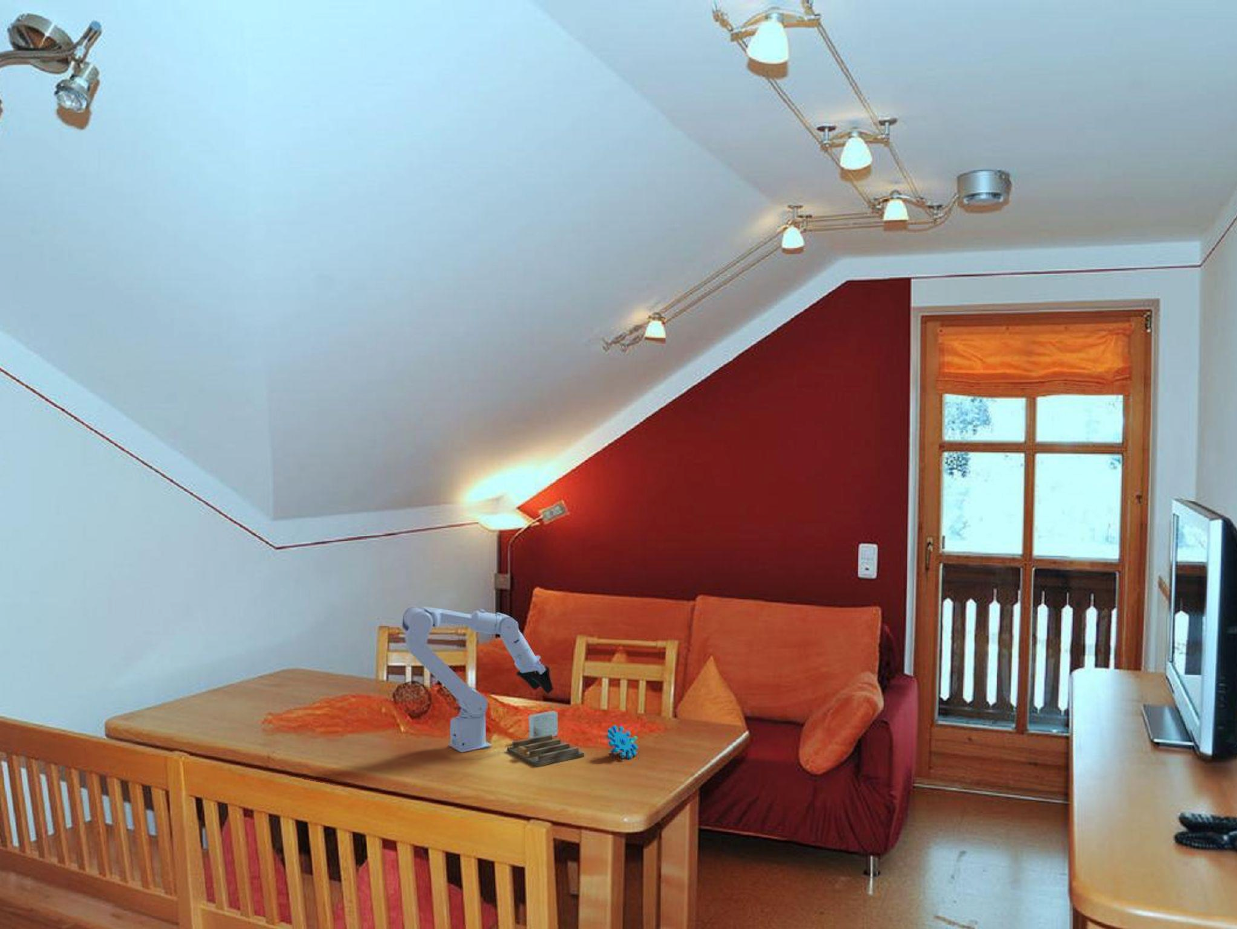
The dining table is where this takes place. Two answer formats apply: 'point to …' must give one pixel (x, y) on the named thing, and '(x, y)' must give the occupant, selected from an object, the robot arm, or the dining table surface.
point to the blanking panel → (543, 724)
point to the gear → (621, 742)
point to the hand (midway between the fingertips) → (543, 689)
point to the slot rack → (544, 750)
